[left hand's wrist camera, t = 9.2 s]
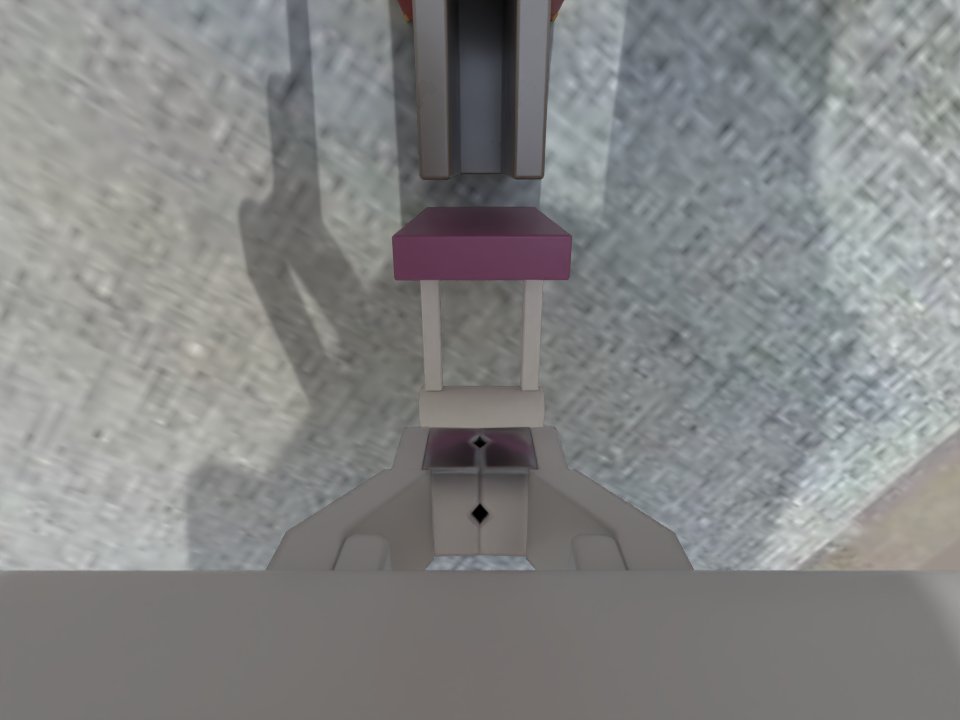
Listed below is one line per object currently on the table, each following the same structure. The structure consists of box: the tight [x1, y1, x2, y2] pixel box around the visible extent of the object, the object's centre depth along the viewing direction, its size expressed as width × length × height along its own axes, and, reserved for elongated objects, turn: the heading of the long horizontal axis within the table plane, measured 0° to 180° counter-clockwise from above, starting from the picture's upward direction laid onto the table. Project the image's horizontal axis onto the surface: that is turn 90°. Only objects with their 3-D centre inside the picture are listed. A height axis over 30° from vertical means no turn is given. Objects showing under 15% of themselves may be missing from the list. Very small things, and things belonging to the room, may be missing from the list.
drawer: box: [392, 0, 572, 428], centre depth 16 cm, size 25×5×10 cm, turn 0°
